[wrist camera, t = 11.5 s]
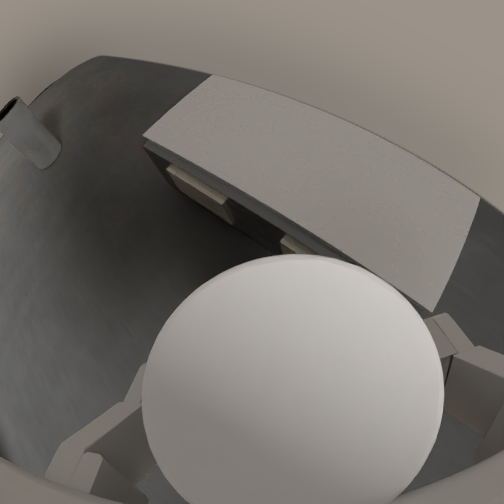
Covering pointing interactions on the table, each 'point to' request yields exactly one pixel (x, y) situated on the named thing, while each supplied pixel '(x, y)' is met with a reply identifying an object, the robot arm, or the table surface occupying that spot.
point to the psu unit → (314, 185)
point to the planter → (28, 133)
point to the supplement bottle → (293, 387)
